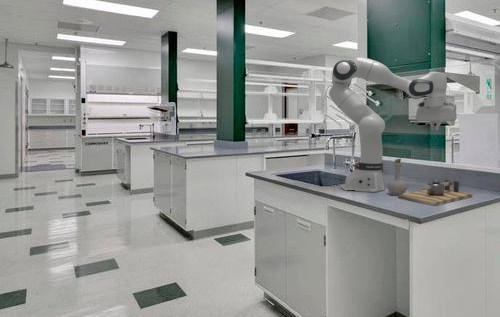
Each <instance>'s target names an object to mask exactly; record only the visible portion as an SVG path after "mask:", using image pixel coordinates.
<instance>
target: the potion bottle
mask: <svg viewBox="0 0 500 317" xmlns="http://www.w3.org/2000/svg"><path fill="white" fill-rule="evenodd" d="M402 164H403V162H402V160H401V158H397V159H394V161H393V166H394V167H395V170H394V179H393V178H392V179H390V180H389V182H388V184H387V190H388V192H389V195H390V196H396V197H398V195H401V194H406V192H407V188H408V187H407V184H406V181H404V180H403V179H400V178H401V167H402Z"/></svg>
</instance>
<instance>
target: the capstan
mask: <svg viewBox="0 0 500 317" xmlns="http://www.w3.org/2000/svg"><path fill="white" fill-rule="evenodd" d="M452 183H453V182H452V181H450V182H445V181H444V182H440V180H439V179H432V182H428V183H427V185H424V188H423V190H426V189H427V193H428V194H430V195H444V189H445V186H448V185H450V186H452Z"/></svg>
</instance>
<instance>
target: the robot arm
mask: <svg viewBox="0 0 500 317" xmlns="http://www.w3.org/2000/svg"><path fill="white" fill-rule="evenodd" d="M354 78H355V79H356V78H357V79H358V78H359V79H362V80H364V81H367V82H370V83H374V84H378V85H385V86H389V87H392V88H395V89H396V90H397V89H398V90H400V91H403V92H404V93H406V95H407V96H408V97H409V98H410V99H413V100H418V99H422V98H424V97H426V99H425V100H424V101H421V102H418V103H417V107H418V108H416V115H415V120H416V121H417V122H429V125H430V128H431V129H430V130H431V131H440V130H439V127H441V124H442V122H455V121H456V120H457V104H455V103H454V102H447V93H446V92H447V90H448V88H447V87H448V80H447V79H448V78H447V74H446V73H445V72H443V71H438V70H436V71H435V70H433V71H430V72H428V73H427V74H425V75H423V76H421V77H418V78H415V79H413V80H411V79H410V80H409V79H407V78H404V77H402V76H399V75H398V74H395V73H393V72H392V71H391V70H390V69H389V68H388V66H386V65H385V64H383V63H381V62H380V61H377V60H374V59H371V58H368V57H363V56H362V57H361V56H356V57H355V58H353V60H352V59H350V60H344V59H343V60H339V61H338V62H336V63H335V64H334V65H333V68H332V74H331V80H332V86H331V88H330V89H329V91H328V95H329V97H330V99H331V101H332V102H333V103H334V105H335V106H336V107H337V108H338V109H339V110H340V111H341V112H342V113H343V114H344V115H345V116H346V117H347V118H348V119H350V120H351V121H352V122H354V123H355V124H356V125H357V126H358V135H359V143H360V162H357V161H356V162H354V166H355V167H356V169H355V170H353V171H352V172H350V173H349V174H347V176H346V177H345V181H344V183H342V184H341V185H340V188H341V187H342V188H343V189H346V190H345V191H347V190H355V191H354V192H365V193H366V192H367V193H368V192H369V193H377V192H380V191H381V192H382V191H383V190H385V186H384V185H385V184H384V180H383V179H384V178H383V173H384V163H383V156H384V155H383V151H384V150H383V141H382V133H384V131H385V128H386V123H385V119H383V118H382V117H381V116H380V115H379V114H378V113H376V111H375V110H373V109H372V107H370V106H368V105H367V103H365V102H364V101H363V100H362V99H361V98H360V97H359V96H358V95H356V94H355V92H354V91H352V89H350V85H351V83H352V79H354ZM435 123H436V125H435ZM342 188H341V189H342ZM343 189H342V190H343Z"/></svg>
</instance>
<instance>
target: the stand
mask: <svg viewBox="0 0 500 317" xmlns="http://www.w3.org/2000/svg"><path fill="white" fill-rule="evenodd" d="M444 182H451V180H449V179H445V181H444ZM450 186H451V185H448V186H444V195H430V194H428V193H427V189H422V190H417V191H412V192H407V193H406V192H405V193H403V194H401V195H398V196H397V198H398V199H400V200H404V199H405V200H406V201H411V202H414V203H420V204H425V205H427V206H429V205H430V206H433V207H436V205H437V206H440V205H444V204H445V205H446V204H448V203H452V202H453V203H454V202H457V201H461V200H465V199H468V198H473V193H470V192H465V191H460V190H459V189H460V181H458V180H457V181H453V190H452V189H451V187H450Z"/></svg>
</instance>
